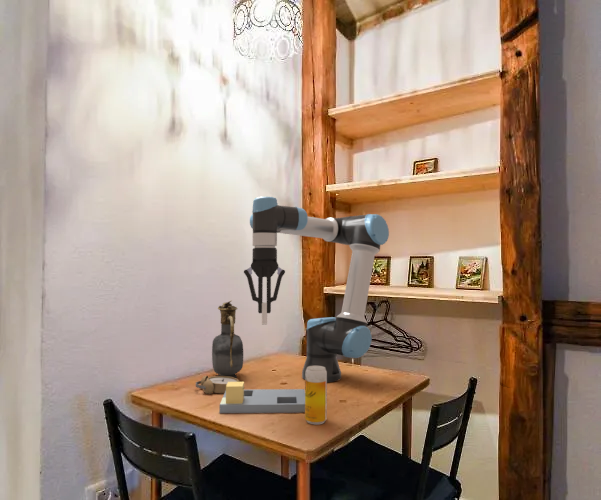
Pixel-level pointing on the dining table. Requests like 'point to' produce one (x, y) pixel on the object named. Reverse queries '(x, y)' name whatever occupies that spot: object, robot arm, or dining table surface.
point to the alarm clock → (215, 383)
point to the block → (235, 392)
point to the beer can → (315, 395)
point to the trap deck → (267, 401)
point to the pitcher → (227, 345)
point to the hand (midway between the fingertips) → (264, 323)
